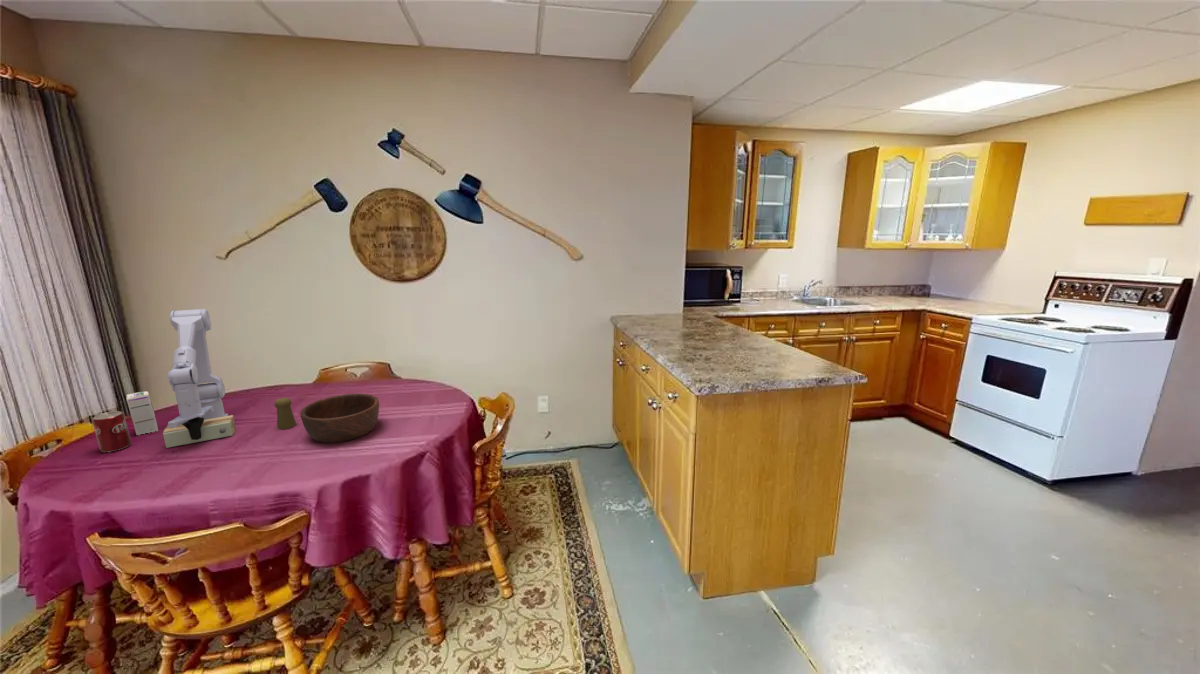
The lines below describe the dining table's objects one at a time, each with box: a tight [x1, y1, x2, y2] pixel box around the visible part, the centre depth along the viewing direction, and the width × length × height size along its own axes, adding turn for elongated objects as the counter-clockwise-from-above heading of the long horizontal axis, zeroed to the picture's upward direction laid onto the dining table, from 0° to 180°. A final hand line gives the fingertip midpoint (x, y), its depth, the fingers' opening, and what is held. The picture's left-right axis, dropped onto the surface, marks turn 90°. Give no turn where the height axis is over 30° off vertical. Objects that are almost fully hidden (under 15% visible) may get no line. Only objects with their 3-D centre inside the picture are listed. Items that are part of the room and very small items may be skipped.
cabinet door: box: [162, 422, 234, 449], centre depth 155 cm, size 2×18×5 cm, turn 124°
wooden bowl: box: [300, 393, 380, 444], centre depth 165 cm, size 25×25×10 cm
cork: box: [274, 397, 297, 430], centre depth 168 cm, size 6×6×11 cm
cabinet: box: [162, 414, 237, 436], centre depth 159 cm, size 6×18×6 cm, turn 123°
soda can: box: [91, 410, 132, 453], centre depth 150 cm, size 7×7×12 cm
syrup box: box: [126, 390, 159, 436], centre depth 162 cm, size 6×6×14 cm
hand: (196, 438), depth 154 cm, fingers closed, pressing on cabinet door
